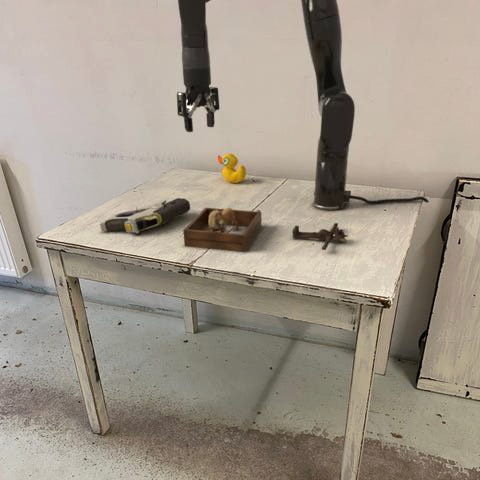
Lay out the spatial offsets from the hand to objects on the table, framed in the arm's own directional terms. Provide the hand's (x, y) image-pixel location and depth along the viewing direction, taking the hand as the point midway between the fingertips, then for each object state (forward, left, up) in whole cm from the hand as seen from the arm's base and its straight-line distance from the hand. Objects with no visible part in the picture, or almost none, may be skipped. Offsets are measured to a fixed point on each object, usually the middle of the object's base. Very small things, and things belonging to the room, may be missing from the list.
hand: (200, 129), depth 139 cm
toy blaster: (+13, +15, -24) cm, 31 cm away
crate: (-12, +19, -24) cm, 33 cm away
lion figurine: (-12, +19, -24) cm, 33 cm away
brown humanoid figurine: (-38, +16, -24) cm, 48 cm away
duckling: (0, -30, -24) cm, 38 cm away
